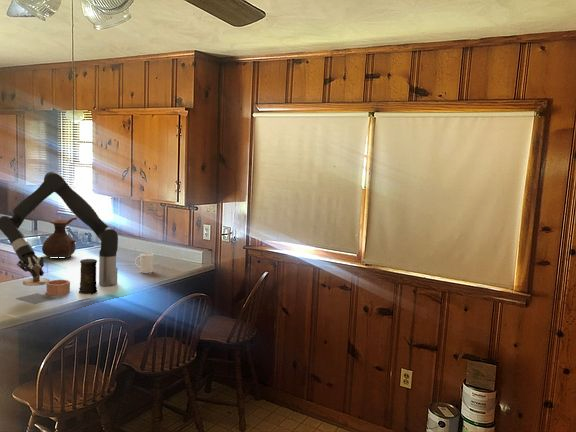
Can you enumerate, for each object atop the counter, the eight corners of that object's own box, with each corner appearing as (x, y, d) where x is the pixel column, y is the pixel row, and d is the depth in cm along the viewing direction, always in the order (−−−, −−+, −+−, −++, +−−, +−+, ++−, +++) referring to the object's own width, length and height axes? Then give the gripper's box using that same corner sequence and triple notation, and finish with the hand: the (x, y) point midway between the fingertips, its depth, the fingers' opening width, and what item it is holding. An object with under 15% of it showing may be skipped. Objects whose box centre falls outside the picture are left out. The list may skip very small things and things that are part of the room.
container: (75, 292, 251) (75, 260, 249) (90, 289, 258) (91, 257, 256) (85, 296, 246) (85, 263, 244) (100, 292, 254) (100, 260, 252)
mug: (132, 272, 300) (132, 254, 299) (137, 269, 309) (138, 252, 307) (150, 274, 299) (150, 256, 298) (155, 271, 308) (155, 253, 307)
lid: (39, 278, 243) (39, 261, 242) (54, 281, 237) (54, 265, 236) (17, 283, 232) (17, 266, 231) (33, 287, 227) (32, 269, 226)
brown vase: (54, 262, 316) (54, 218, 313) (35, 257, 327) (35, 215, 323) (82, 257, 335) (83, 216, 331) (64, 253, 345) (64, 213, 342)
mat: (37, 294, 244) (37, 293, 244) (56, 299, 238) (56, 298, 238) (15, 299, 233) (15, 298, 233) (34, 305, 227) (34, 304, 227)
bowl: (60, 289, 255) (60, 278, 255) (74, 292, 251) (74, 281, 250) (41, 293, 246) (41, 282, 245) (56, 297, 241) (56, 286, 240)
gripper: (12, 246, 229) (29, 274, 226) (38, 242, 242) (54, 268, 238) (6, 255, 232) (22, 283, 229) (32, 251, 245) (48, 277, 241)
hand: (38, 275), depth 233 cm, fingers closed on lid, 3 cm apart
